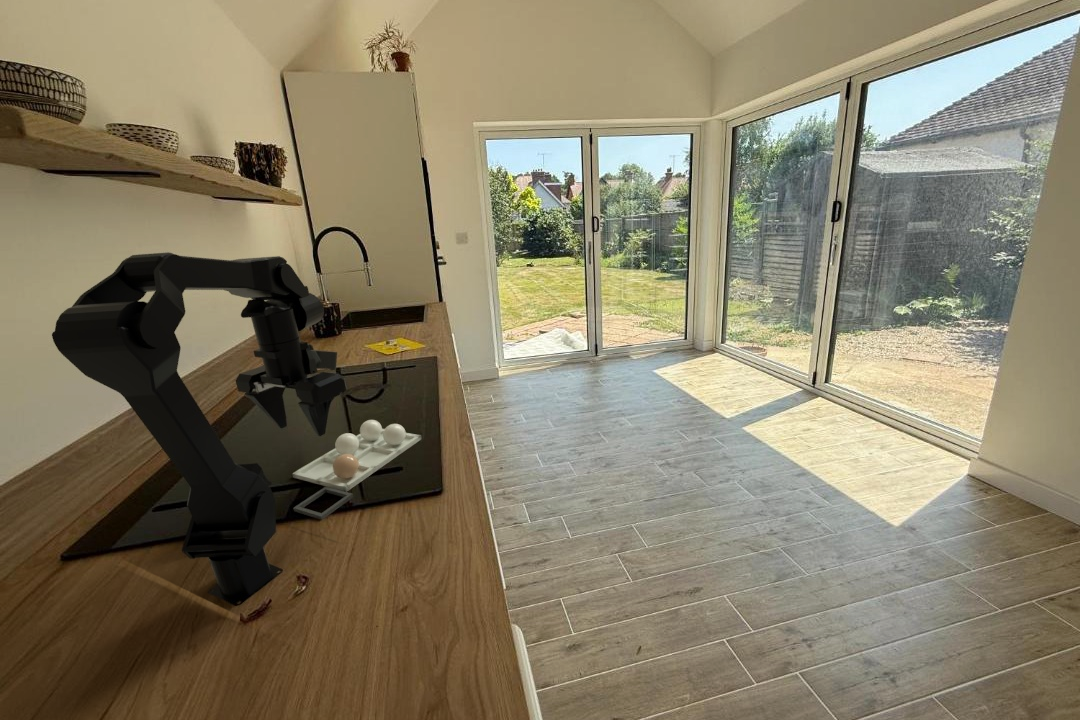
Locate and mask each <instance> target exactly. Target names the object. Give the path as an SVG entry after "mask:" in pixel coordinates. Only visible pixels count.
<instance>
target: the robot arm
mask: <svg viewBox="0 0 1080 720" xmlns="http://www.w3.org/2000/svg"><path fill="white" fill-rule="evenodd" d="M195 290H196V291H198V290H199V291H200V290H201V291H226V292H228V293H229V294H231V295H233V296H238V297H242V298H246V299H248V300H247V303H246V305H245V307H244V308H243V309H242V310H241V312H240V317H241V318H243V319H246V318H247V319H248V318H249V319H251V323H252V326H253V329H254V334H255V337H256V341H257V344H258V349H255V350H253V355H254V357H255V358H261V360H262V363H263V365H260V366H258V367H255V368H252V369H249V370H246V371H243V372H240V373H238V375H237V378H236V379H235V385H236V388H237V391H238V392H239V393H240V392H242V393H243V395H244V396H245V397H246V398H248V399H249V400H250V401H252V402H253V403H254V404H255V405H256V406H257V407H258V408H259V409H260V410H261V411H262V412H263V413H264V414H265V415H266V416H267V418H269V419H270V420H271V421H272V422H273V423H274V424H275V425H276V426H277V427H278V428H279V429H284V428H287V425H288V422H287V414H286V407H285V401H284V392H285V390H286V389H291V390H295V395H296V397H297V398H298V400H300V401H299V402H298V403H297V404H298V406H299V408H300V409H301V411H302V412H303V414H304V416H305V417H306V419H307V421H308V422H309V425H310V426H311V428H312V429H313V431H314V432H315V433H316V435H317V436H318V437H322V436H324V435H325V434H326V429H327V425H328V417H329V412H330V407H331V404H332V402H333V401H334V399H335V398H337V397H339V396H340V395H341V394H342V393H343V392H344V391H347V385H346V383H347V382H346V378H345V377H344V376H343V375H341V374H340V373H335V372H325V371H323V372H320V373H318V372H319V371H318V370H331V371H336V370H337V361H338V351H329V350H318V349H317V350H316V349H314V347H313V344H310V343H308V342H307V341H301V337H300V334H299V332H301V331H303V330H306V329H307V328H310V327H311V326H313V325H315V324H317V323H319V322H321V320H322V319H323V317H324V315H325V306H324V304H323V302H322V301H321V300H320V299H319V298H318V296H316V295H315V294H313V293H312V292H309V288H308V286H307V285H305V284H304V283H303V282H302V280H301V279H300V277H299V276H298V275H297V273H296V272H295V269H293V267H292V266H291V265H290V264H289V263H287V260H286V259H285V258H284V257H282V256H280V255H275V256H265V257H264V256H263V257H251V258H250V257H248V258H238V259H237V258H236V259H231V260H229V259H221V258H220V259H219V258H218V259H217V258H209V257H207V258H205V257H198V256H197V257H196V256H189V255H187V256H185V255H179V254H176V253H175V254H174V253H172V252H168V251H167V252H158V253H156V252H154V253H142V254H141V253H140V254H132V255H130V256H129V257H126V258H125V259H123V260H122V261H121V263H119V265H118V266H117V268H116V269H115V270H114V272H112V273H111V274H109V275H108V276H107V277H105V278H104V279H102V280H101V281H100V282H98V283H96V284H95V285H93V286H92V287H90V288H89V289H87V290H86V291H84V292H83V293H82V294H81V295H79V297H78V298H77V300H75V302H74V303H73V304H72V306H71V307H68V308H66V309H65V310H64V311H63V312H61V314H60V315H59V317H58V318H57V320H56V322H55V328H54V331H52V333H51V337H52V341H53V343H54V345H55V347H56V349H57V350H58V352H59V353H60V354H61V355H63V357H65V358H66V359H67V360H68V361H69V362H70V363H71V364H72V365H73V366H74V367H76V369H77V370H79V371H80V372H81V373H82V374H83V375H84V376H86V377H87V378H90V379H92V380H93V381H95V382H98V383H99V384H101V385H103V386H106V387H107V388H110V389H111V390H113V391H114V392H117V393H119V394H120V395H121V396H122V397H123V398H124V399H125V401H126V402H127V404H129V406H130V407H131V409H132V410H133V412H134V413H135V414H136V415H137V417H138V418H139V420H140V421H141V422H142V424H143V425H144V426H145V428H146V429H147V430H148V432H149V433H150V435H152V437H153V438H154V440H155V441H156V442H157V443H158V445H159V447H160V448H161V449H162V450H163V451H164V453H165V455H166V456H167V457H168V459H169V460H170V461H171V462H172V463H173V465H174V467H175V468H176V469H177V470H178V472H179V473H180V475H181V476H182V477H183V478H184V480H185V482H187V484H188V485H189V493H188V498H187V503H186V506H187V509H188V510H189V513H190V514H191V518H190V522H189V526H188V528H187V531H186V534H185V538H184V541H183V545H182V547H181V552H182V554H183V553H184V554H185V556H186V557H187V558H188V559H190V560H193V559H194V560H195V559H201V558H202V559H203V558H208V560H209V563H210V566H211V568H212V572H213V574H214V577H215V579H216V582H217V583H216V584H215V585H213V586H212V587H210V588H209V589H208V590H207V593H208V594H209V595H212V596H214V597H215V598H218V599H220V600H222V601H224V602H226V603H228V604H230V605H233V606H234V607H235V606H236V607H238V606H240V605H242V604H243V603H244V602H246V601H247V600H248V599H250V598H251V597H252V596H254V595H255V594H256V593H257V592H259V591H260V590H261V589H263V588H265V586H267V585H268V584H269V583H271V582H272V581H273V580H274V579H275V578H276V577H277V578H278V577H279V575H281V574H282V573H283V571H284V569H283V568H281V567H278V566H276V565H273V564H270V563H269V561H268V557H267V554H266V551H265V548H264V547H265V546H266V545H267V544H268V542H269V541H270V540H271V539H272V538H273V537H274V535H276V532H277V521H276V499H275V496H274V493H273V491H272V488H271V487H270V486H271V485H273V484H272V481H270V480H269V479H268V478H267V477H266V475H265V473H264V470H263V468H262V466H261V465H259V464H258V463H255V462H253V463H252V462H251V463H250V462H249V463H236V462H235V461H234V459H233V458H232V456H231V455H230V454H229V452H228V450H227V448H226V447H225V446H224V444H223V443H222V440H221V439H220V438H219V436H218V434H217V433H216V431H215V430H214V428H213V426H212V425H211V423H210V422H209V420H208V419H207V417H206V416H205V414H204V412H203V410H202V409H201V408H200V406H199V404H198V403H197V401H196V400H195V398H194V397H193V395H192V393H191V392H190V390H189V389H188V387H187V385H186V384H185V383H184V381H183V379H182V378H181V376H180V374H179V372H178V367H179V360H180V354H181V345H180V342H179V340H178V337H177V335H176V333H175V332H176V331H177V328H178V327H179V325H180V324H181V321H183V319H184V317H185V314H186V307H185V301H184V296H183V295H184V294H183V293H184V292H185V291H195ZM150 292H153V294H152V296H151V297H150V299H149V300H148V302H146V301H144V300H143V301H140V300H141V299H143V298H144V297H145V296H146V294H147V293H150ZM249 298H250V299H249ZM316 373H318V374H316ZM308 375H313V376H310V377H308ZM238 602H239V603H238Z"/></svg>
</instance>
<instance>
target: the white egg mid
mask: <svg viewBox="0 0 1080 720" xmlns="http://www.w3.org/2000/svg"><path fill="white" fill-rule="evenodd" d="M356 436H357V435H355V434H353V433H349V432H346V433H342V434H341V435H339V436H338V437H337V439H336V440H335V443H334V447H335V448H336V450H337V452H338V453H339V454H341V455H342V454H351V455H352V454H354V453H355V452H356V451H357V450H358V447H359V440H358V438H357V437H356ZM335 448H334V449H335Z"/></svg>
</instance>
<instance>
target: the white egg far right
mask: <svg viewBox="0 0 1080 720" xmlns="http://www.w3.org/2000/svg"><path fill="white" fill-rule="evenodd" d="M382 429H383V427H382V425H381V423H380V422H379V421H378V420H375V419H368V420H366V421H364V422H363V423H362V424H361V425H360V428H359V434H360V435H361V436H362V438H363V439H365V440H367V441H374V440H376V439H378V438H379V437H380V435H381V433H382Z"/></svg>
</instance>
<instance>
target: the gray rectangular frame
mask: <svg viewBox="0 0 1080 720" xmlns="http://www.w3.org/2000/svg"><path fill="white" fill-rule="evenodd" d="M326 493H327V494H331V495H335V496H338V497H342V498H341V499H340V500H338V501H337V502H335V503H334V504H333V505H331V506H330V507H328V508H327V509H326V510H324V511H323V512H318V511H314V510H311V509H308V508H305V507H306V506H308V505H310V504H311V503H312V502H314V501H316V500H317V499H319V498H320V497H321V496H323V495H324V494H326ZM353 498H354V494H353V493H352V492H348V491H347V492H346V491H342V490H338V489H335V488H331V487H327V486H323V488H321V489H320V490H318V491H317V492H315V493H314V494H312V495H310V496H309V497H307V498H306V499H305V500H303V501H301V502H300V503H299V504H297V505H295V506H294V507H293V511H294V513H299V514H302V515H305V516H309V517H311V518H314V519H318V520H321V521H323V520H325V519H326V518H327V517H328V516H329V515H331V514H332V513H334V512H335V511H336V510H338V509H339V508H341V507H342V506H344V504H346V503H348V502H349V501H350V500H351V499H353Z"/></svg>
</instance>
